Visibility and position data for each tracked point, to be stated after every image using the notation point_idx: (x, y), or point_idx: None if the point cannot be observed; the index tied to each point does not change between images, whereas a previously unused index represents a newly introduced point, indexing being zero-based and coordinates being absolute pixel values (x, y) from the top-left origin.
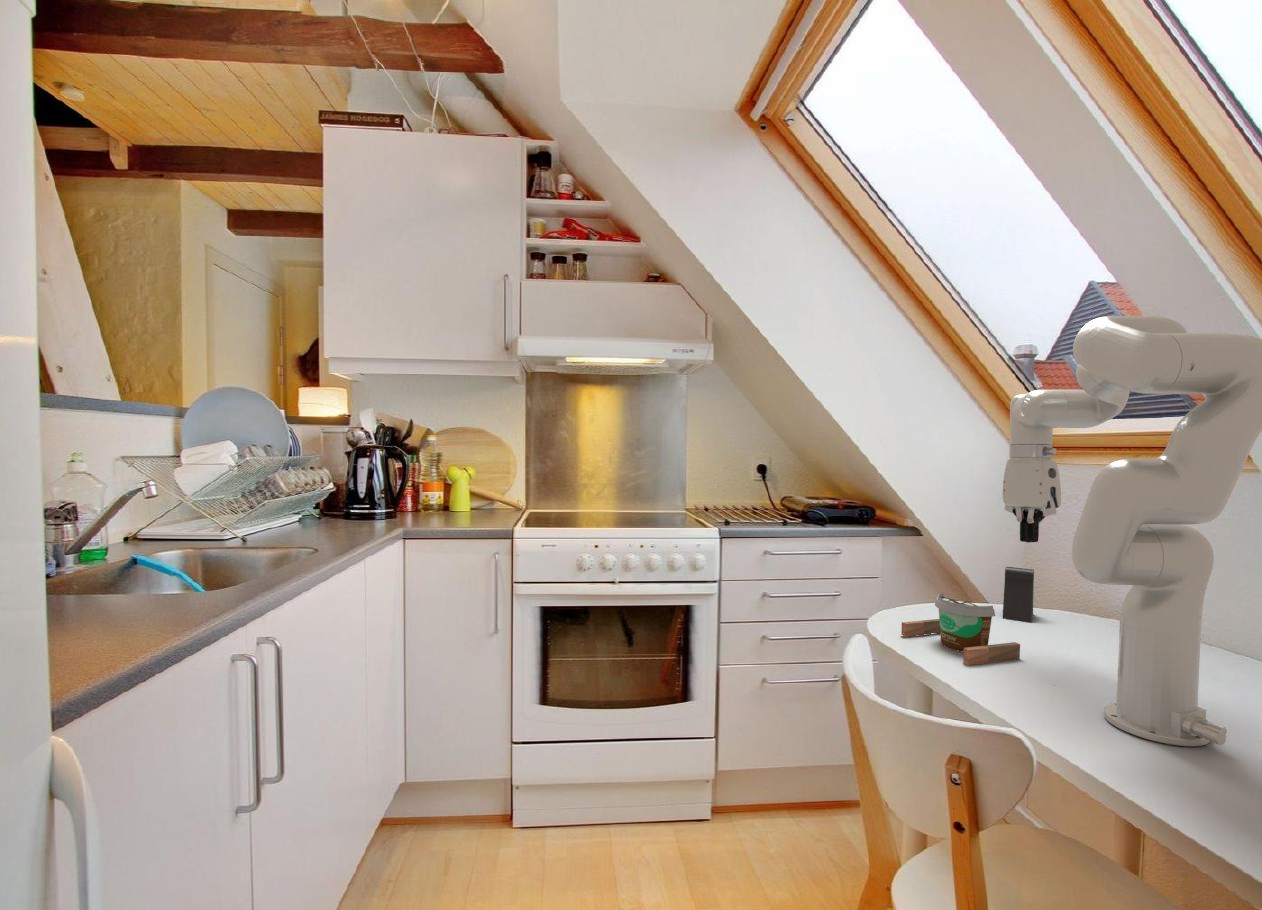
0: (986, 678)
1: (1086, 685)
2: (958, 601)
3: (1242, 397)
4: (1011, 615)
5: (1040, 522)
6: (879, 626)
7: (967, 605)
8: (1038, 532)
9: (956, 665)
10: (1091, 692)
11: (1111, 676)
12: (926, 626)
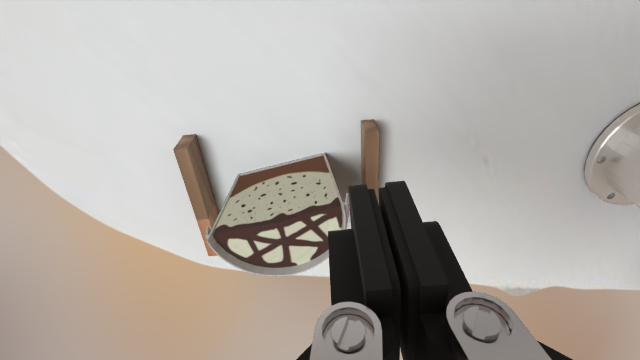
0: None
1: (514, 108)
2: (265, 234)
3: None
4: None
5: (490, 301)
6: (155, 243)
7: (327, 257)
8: (449, 246)
9: None
10: (535, 127)
11: (516, 9)
12: (209, 207)
